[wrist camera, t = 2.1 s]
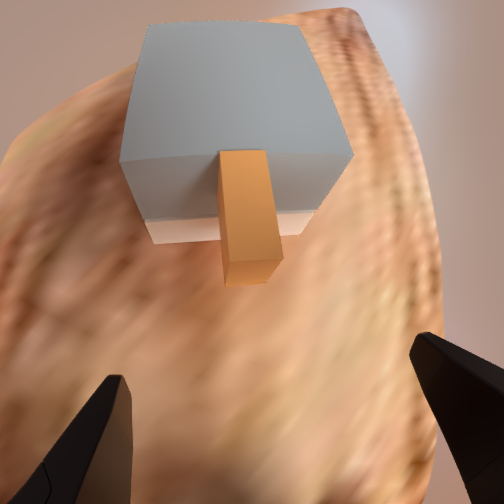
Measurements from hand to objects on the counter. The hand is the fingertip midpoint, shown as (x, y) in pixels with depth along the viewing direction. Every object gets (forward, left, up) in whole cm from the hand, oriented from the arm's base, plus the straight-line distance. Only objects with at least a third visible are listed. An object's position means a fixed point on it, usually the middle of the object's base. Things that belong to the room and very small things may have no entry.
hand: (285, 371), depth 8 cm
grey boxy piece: (+10, -8, -8) cm, 15 cm away
